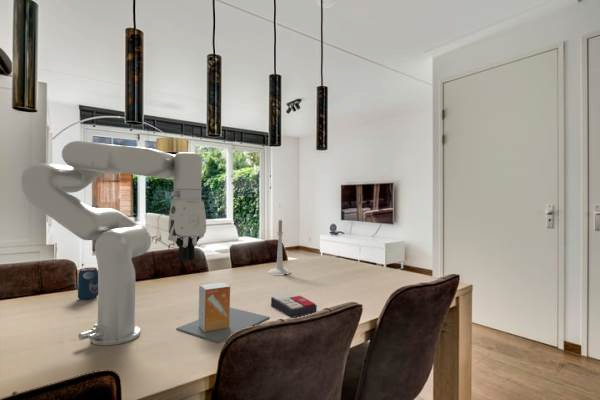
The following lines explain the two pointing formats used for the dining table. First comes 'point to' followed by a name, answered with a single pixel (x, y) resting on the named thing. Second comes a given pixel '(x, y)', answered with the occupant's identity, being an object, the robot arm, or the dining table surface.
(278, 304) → the flat red grey box
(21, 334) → the dining table surface
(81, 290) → the soda can
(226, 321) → the small box
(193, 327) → the mat
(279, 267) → the candlestick
